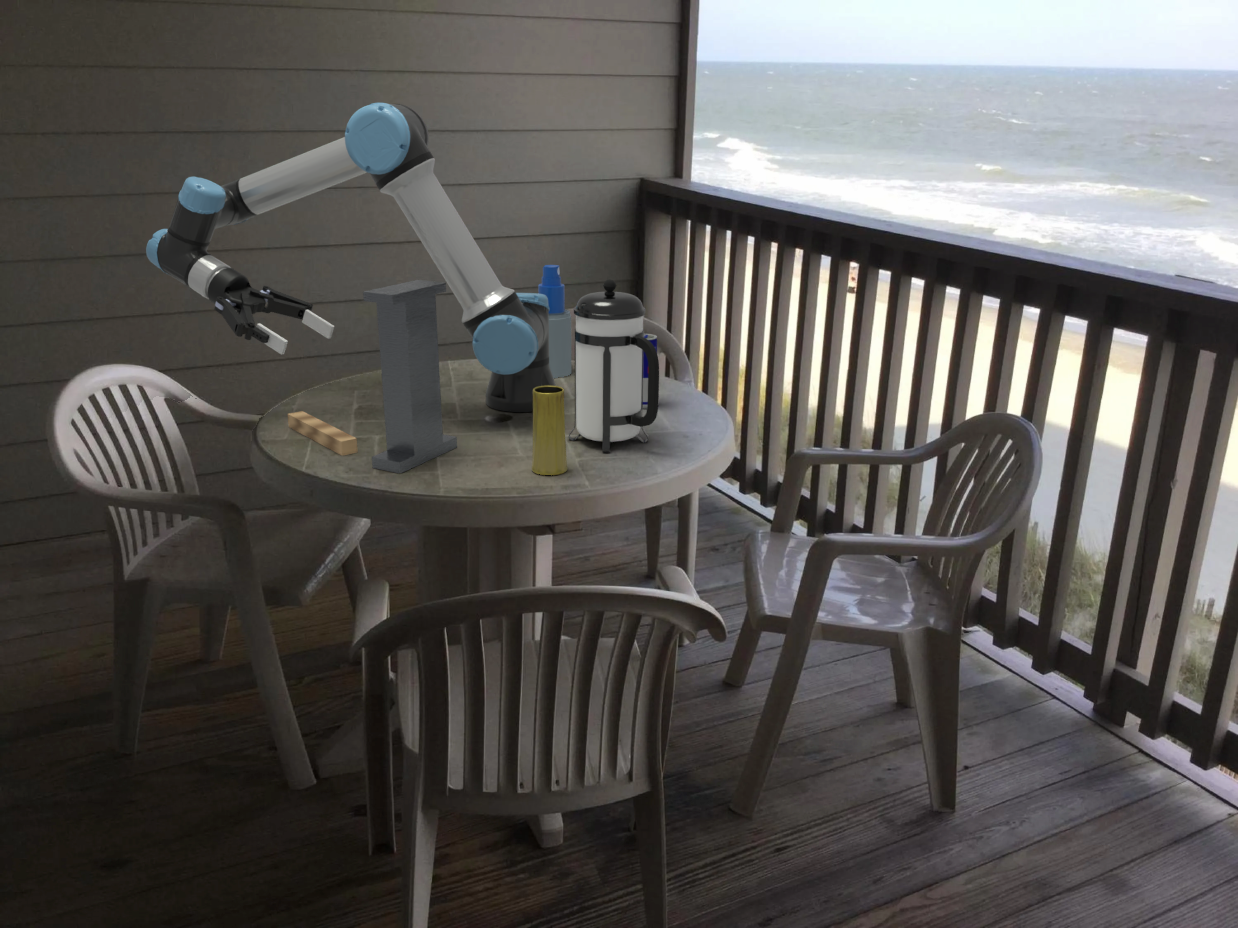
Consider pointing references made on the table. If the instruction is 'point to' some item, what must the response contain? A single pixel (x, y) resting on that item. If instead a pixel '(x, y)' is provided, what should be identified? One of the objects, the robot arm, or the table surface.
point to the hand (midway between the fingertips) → (309, 340)
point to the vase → (549, 431)
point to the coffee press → (612, 368)
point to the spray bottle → (557, 322)
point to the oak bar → (323, 433)
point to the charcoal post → (410, 374)
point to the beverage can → (645, 369)
